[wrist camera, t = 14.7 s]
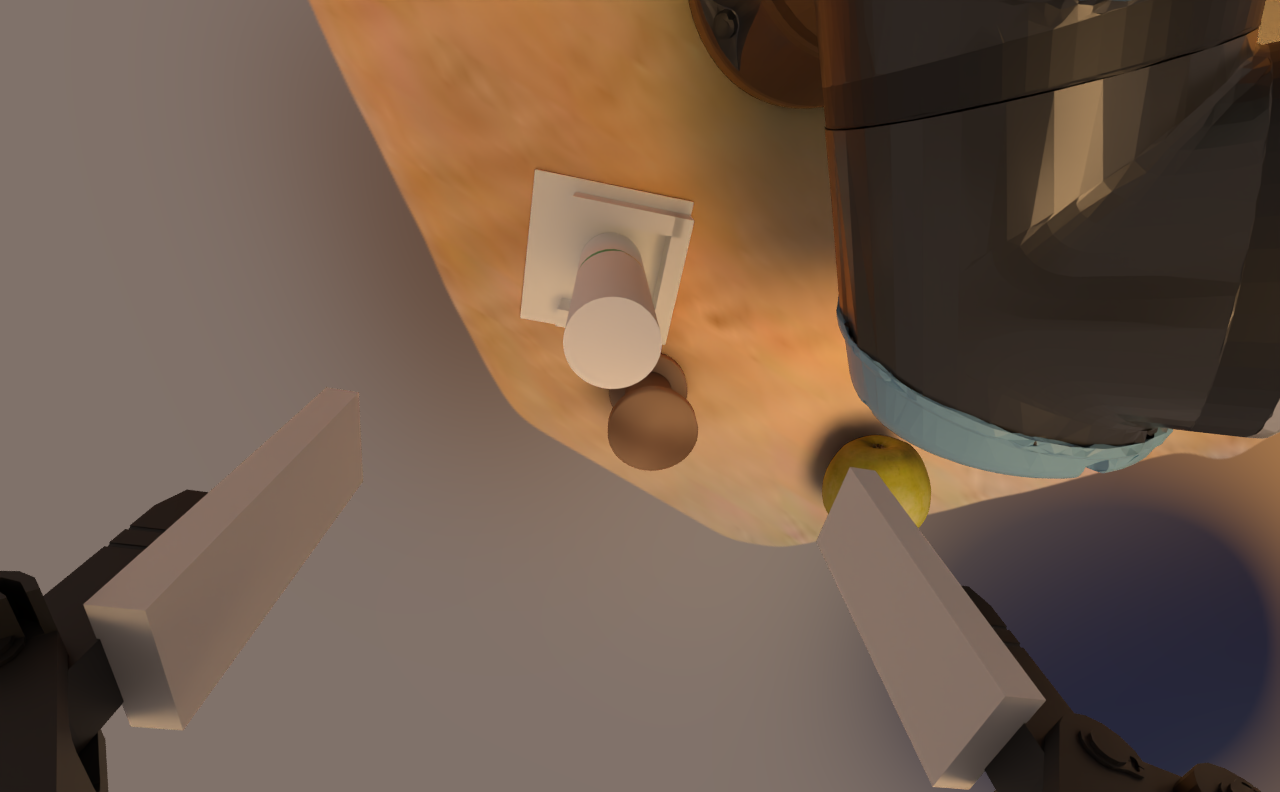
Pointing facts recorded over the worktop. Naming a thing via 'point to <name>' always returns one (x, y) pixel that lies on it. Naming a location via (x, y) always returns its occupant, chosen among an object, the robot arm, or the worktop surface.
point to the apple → (883, 472)
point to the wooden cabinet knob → (653, 419)
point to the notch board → (585, 211)
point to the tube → (611, 316)
